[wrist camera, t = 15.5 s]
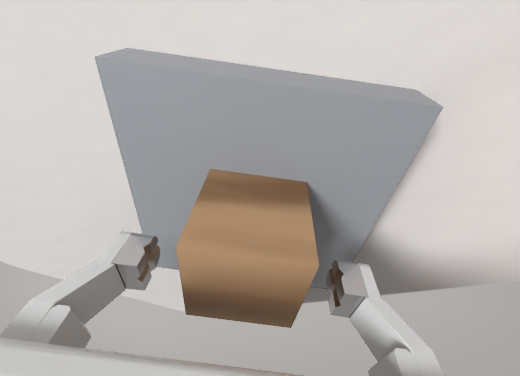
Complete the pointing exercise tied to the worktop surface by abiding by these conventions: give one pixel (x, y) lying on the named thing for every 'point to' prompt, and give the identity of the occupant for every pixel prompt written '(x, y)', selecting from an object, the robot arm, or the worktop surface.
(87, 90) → the worktop surface
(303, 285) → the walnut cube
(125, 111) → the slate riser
